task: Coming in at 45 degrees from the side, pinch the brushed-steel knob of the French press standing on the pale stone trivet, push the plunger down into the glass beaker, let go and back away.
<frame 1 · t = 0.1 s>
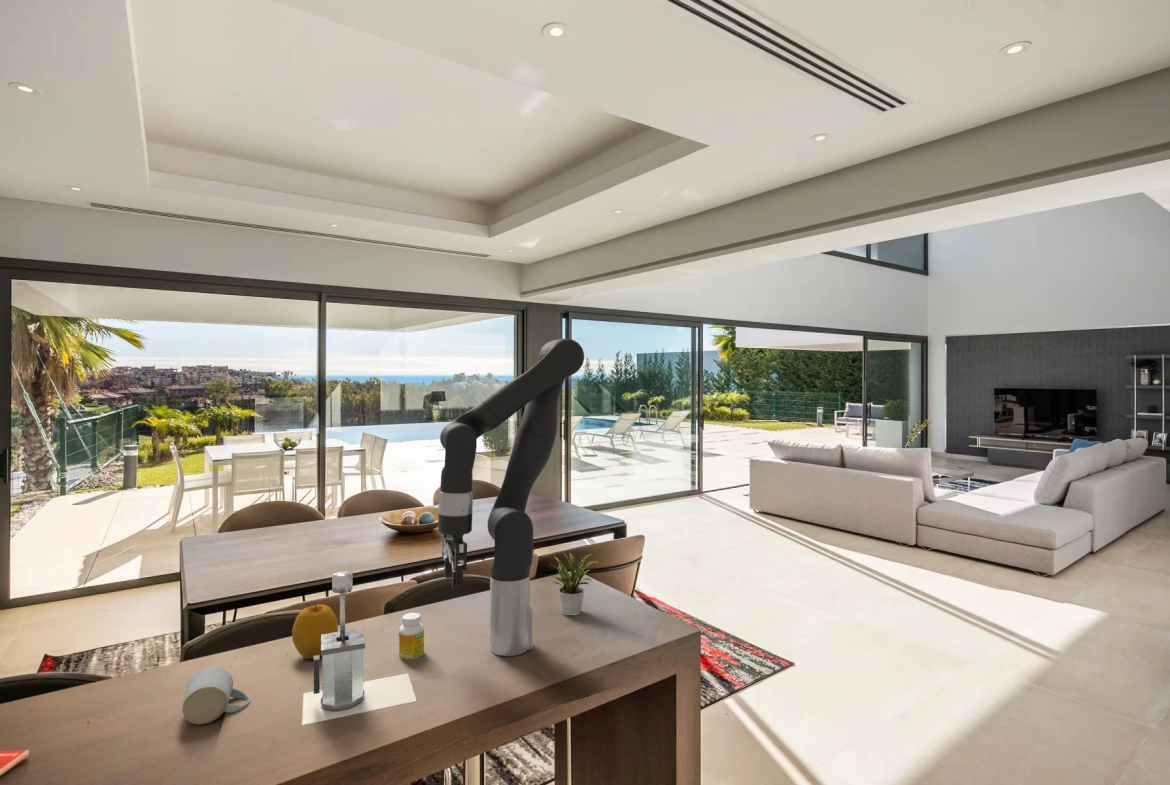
hand: (453, 582, 134), 17 cm above the table, tool pointing down, fingers open, 8 cm apart
house plant: (576, 612, 162), on the table
ceramic mug: (216, 714, 112), on the table
press: (342, 700, 115), resting on trivet
plunger: (342, 611, 115), point 18 cm above the table, slide at 0.0 cm
apple: (315, 657, 136), on the table
supplement bottle: (411, 659, 135), on the table
trivet: (359, 702, 116), on the table
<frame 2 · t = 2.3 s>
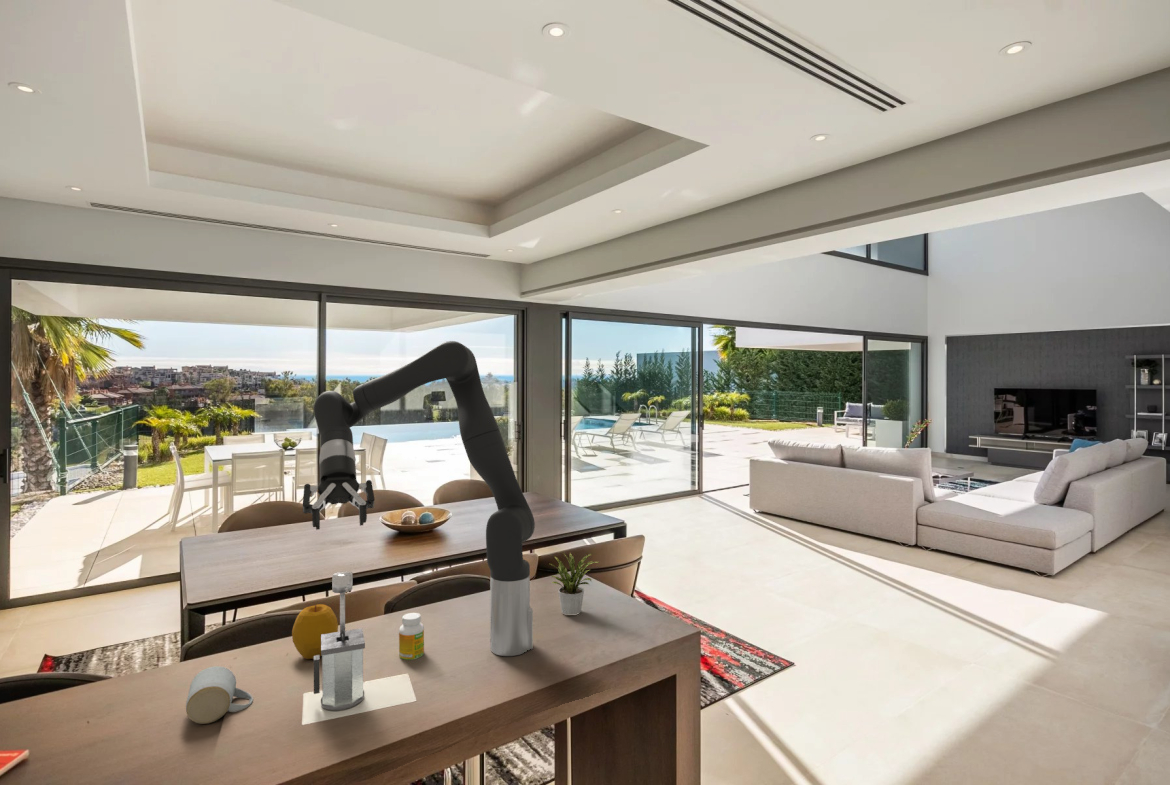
hand: (340, 525, 125), 33 cm above the table, tool tilted 45°, fingers open, 8 cm apart
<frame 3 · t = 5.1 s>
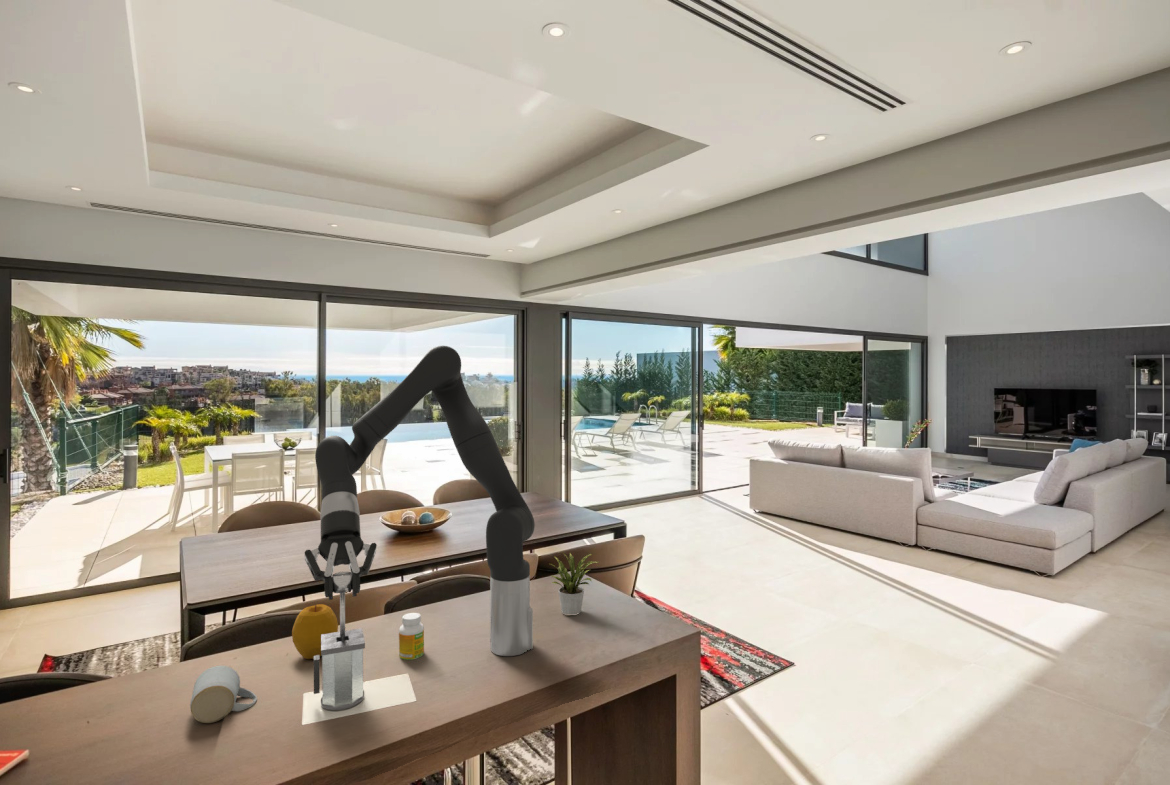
hand: (342, 595, 113), 22 cm above the table, tool tilted 45°, fingers closed on plunger, 3 cm apart
plunger: (342, 611, 115), point 18 cm above the table, slide at 0.0 cm, touching gripper
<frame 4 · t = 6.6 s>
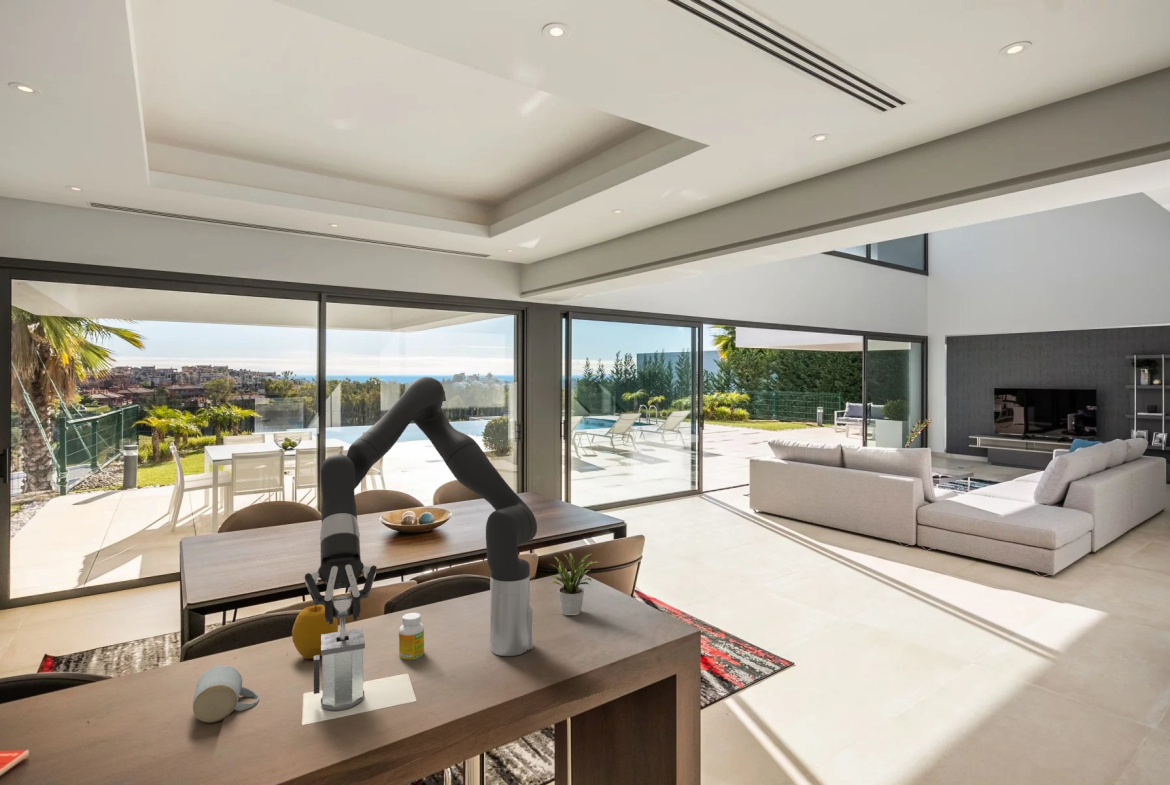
hand: (342, 620, 113), 17 cm above the table, tool tilted 45°, fingers closed on plunger, 3 cm apart
plunger: (342, 635, 115), point 14 cm above the table, slide at 4.8 cm, touching gripper
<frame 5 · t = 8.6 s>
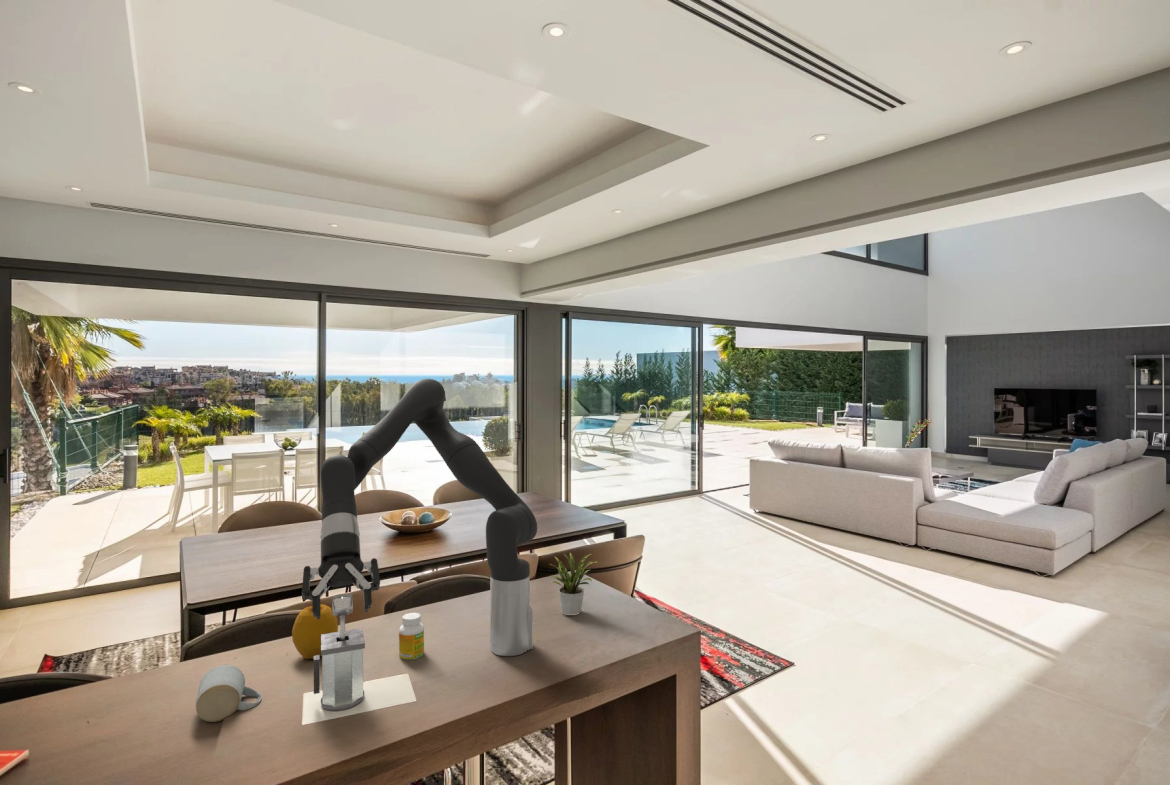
hand: (342, 613, 114), 18 cm above the table, tool tilted 45°, fingers open, 8 cm apart
plunger: (342, 633, 115), point 14 cm above the table, slide at 4.4 cm
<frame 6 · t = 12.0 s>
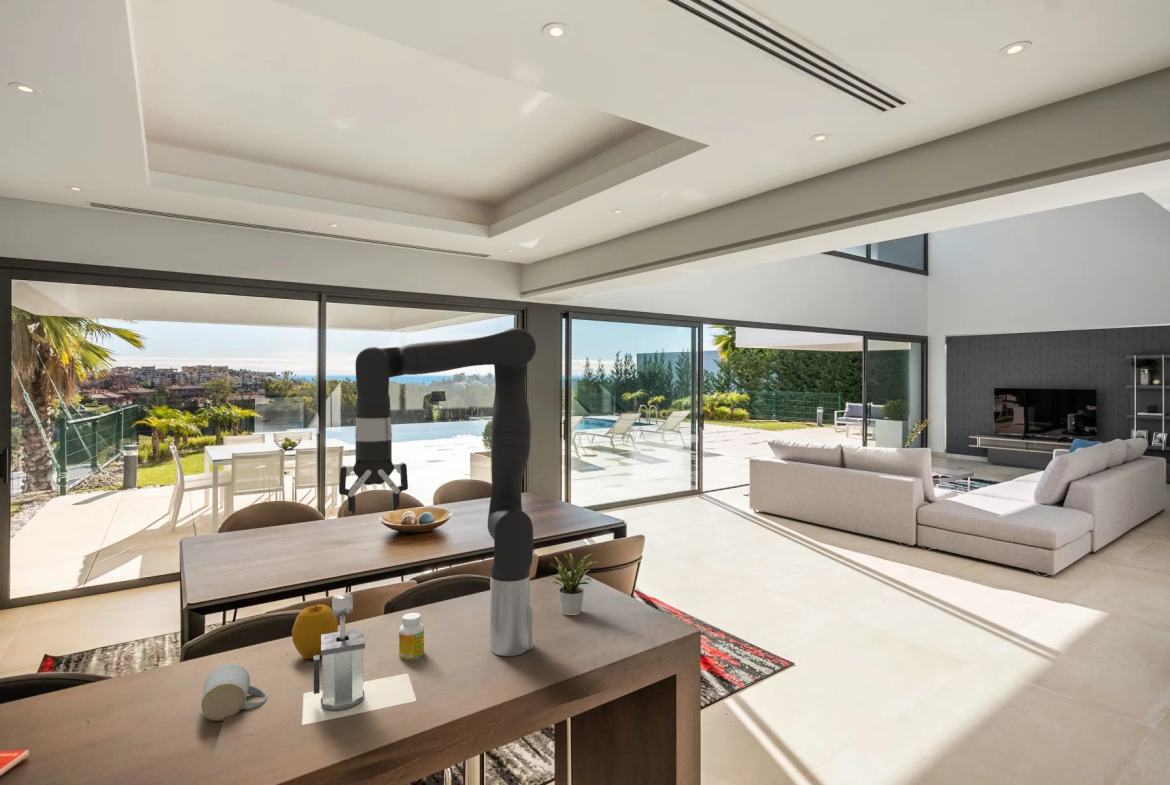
hand: (373, 511, 131), 34 cm above the table, tool pointing down, fingers open, 8 cm apart
at the end: plunger slide at 4.4 cm; the gripper is holding nothing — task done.
